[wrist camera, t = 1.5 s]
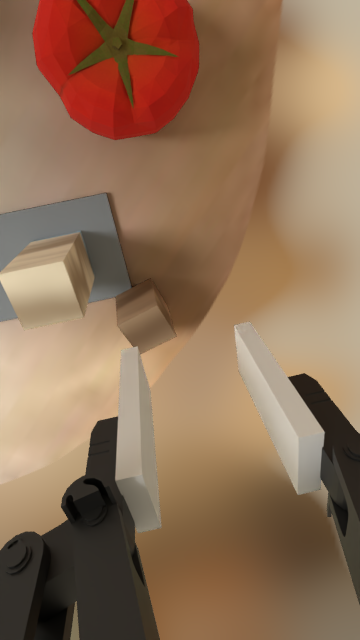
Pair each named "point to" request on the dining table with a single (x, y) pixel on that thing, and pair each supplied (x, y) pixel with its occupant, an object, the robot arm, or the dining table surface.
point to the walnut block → (144, 316)
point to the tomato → (118, 61)
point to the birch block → (49, 281)
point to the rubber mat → (61, 218)
